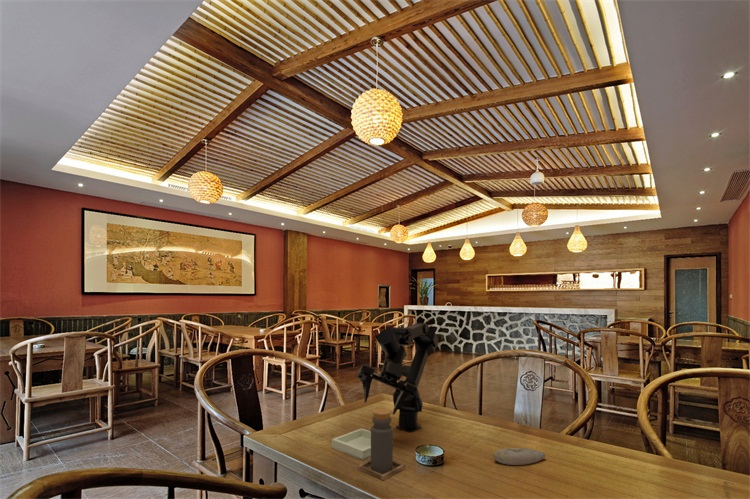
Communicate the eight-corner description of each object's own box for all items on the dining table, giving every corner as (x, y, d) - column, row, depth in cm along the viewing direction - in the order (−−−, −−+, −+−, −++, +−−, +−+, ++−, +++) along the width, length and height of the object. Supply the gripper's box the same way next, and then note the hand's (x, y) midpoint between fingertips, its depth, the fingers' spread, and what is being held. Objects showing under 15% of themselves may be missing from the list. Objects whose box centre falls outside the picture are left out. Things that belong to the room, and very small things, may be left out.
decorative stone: (550, 464, 112) (550, 451, 113) (499, 469, 109) (499, 456, 109) (537, 455, 118) (537, 443, 119) (488, 459, 115) (488, 447, 115)
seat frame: (380, 459, 115) (380, 455, 115) (405, 468, 109) (405, 464, 109) (357, 469, 108) (357, 465, 108) (383, 480, 102) (383, 476, 102)
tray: (361, 436, 132) (361, 428, 132) (392, 446, 123) (392, 438, 123) (331, 447, 122) (331, 439, 123) (362, 460, 114) (362, 451, 114)
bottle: (390, 475, 105) (390, 415, 106) (368, 473, 106) (368, 413, 107) (394, 465, 111) (394, 408, 112) (373, 463, 112) (373, 407, 113)
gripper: (373, 340, 125) (356, 387, 115) (429, 364, 125) (417, 413, 115) (364, 353, 133) (348, 399, 123) (416, 376, 134) (404, 423, 124)
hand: (379, 408), depth 121 cm, fingers open, 9 cm apart
